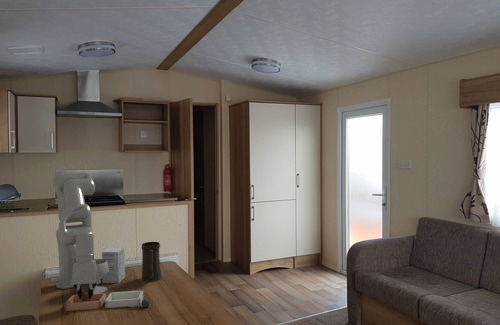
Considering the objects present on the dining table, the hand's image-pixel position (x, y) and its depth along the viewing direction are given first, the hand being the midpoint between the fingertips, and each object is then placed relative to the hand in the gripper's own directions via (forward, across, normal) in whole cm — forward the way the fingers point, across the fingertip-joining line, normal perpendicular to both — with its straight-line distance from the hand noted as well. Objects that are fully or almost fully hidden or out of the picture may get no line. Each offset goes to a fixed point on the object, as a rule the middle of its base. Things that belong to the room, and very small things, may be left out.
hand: (85, 297), depth 176 cm
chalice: (+4, -1, +18) cm, 19 cm away
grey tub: (+4, +17, -1) cm, 18 cm away
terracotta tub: (+4, 0, -1) cm, 4 cm away
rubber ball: (+1, +27, -7) cm, 28 cm away
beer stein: (+4, +26, +31) cm, 41 cm away
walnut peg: (+1, 0, 0) cm, 1 cm away
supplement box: (+5, +5, +35) cm, 36 cm away
